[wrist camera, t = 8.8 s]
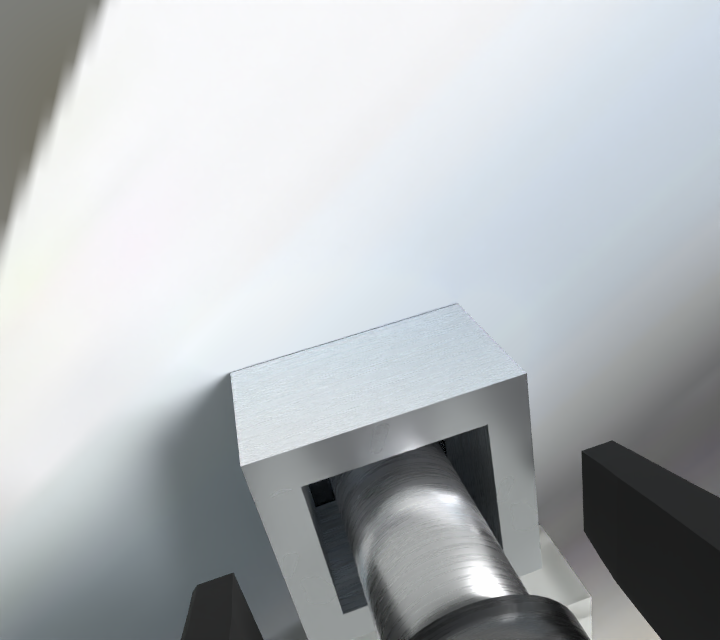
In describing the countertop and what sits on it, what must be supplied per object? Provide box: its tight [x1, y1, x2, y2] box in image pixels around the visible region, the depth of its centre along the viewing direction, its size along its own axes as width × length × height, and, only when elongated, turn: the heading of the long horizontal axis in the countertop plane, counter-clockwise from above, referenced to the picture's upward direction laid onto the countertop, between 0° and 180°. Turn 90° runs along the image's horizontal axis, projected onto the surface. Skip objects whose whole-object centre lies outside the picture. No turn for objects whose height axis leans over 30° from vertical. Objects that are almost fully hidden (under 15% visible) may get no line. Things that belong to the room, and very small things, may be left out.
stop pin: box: [329, 441, 590, 640], centre depth 11 cm, size 3×3×7 cm
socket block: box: [230, 304, 542, 640], centre depth 12 cm, size 5×5×3 cm
